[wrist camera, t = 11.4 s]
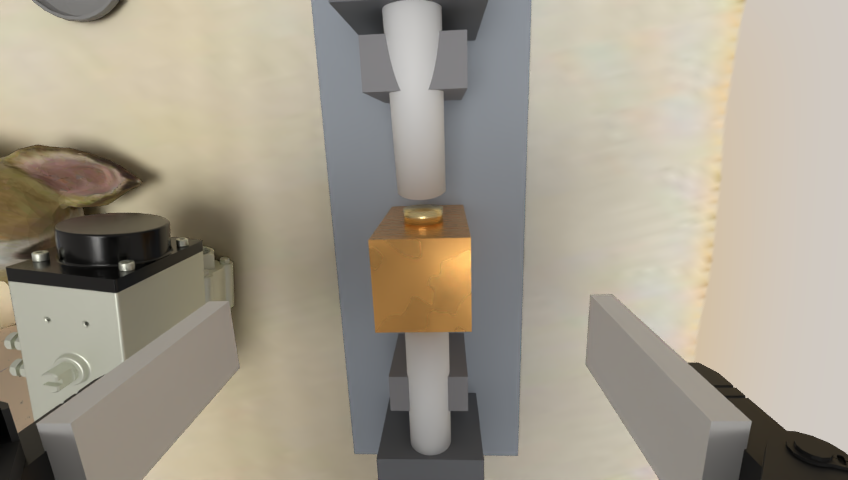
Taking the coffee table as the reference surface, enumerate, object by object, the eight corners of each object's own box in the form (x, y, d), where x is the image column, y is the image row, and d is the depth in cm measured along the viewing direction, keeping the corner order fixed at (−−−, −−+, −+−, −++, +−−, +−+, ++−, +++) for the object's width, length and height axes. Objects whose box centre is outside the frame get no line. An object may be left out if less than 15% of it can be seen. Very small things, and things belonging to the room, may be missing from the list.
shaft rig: (515, 445, 30) (543, 570, 22) (357, 444, 31) (323, 564, 22) (528, -44, 22) (582, -156, 14) (313, -31, 23) (232, -129, 14)
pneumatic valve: (243, 200, 27) (87, 254, 15) (246, 358, 30) (119, 503, 18) (160, 191, 27) (-56, 238, 15) (172, 349, 30) (-1, 488, 18)
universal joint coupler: (391, 195, 25) (366, 224, 17) (463, 193, 25) (470, 221, 17) (396, 283, 26) (376, 346, 19) (464, 282, 26) (471, 345, 19)
